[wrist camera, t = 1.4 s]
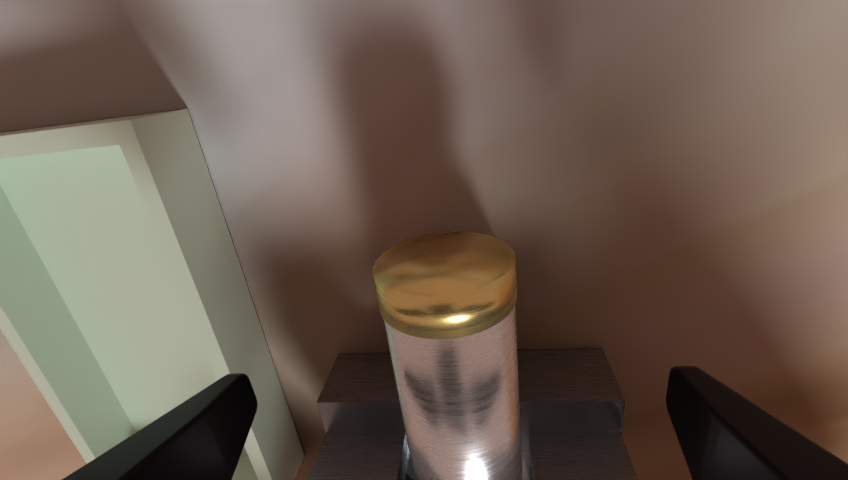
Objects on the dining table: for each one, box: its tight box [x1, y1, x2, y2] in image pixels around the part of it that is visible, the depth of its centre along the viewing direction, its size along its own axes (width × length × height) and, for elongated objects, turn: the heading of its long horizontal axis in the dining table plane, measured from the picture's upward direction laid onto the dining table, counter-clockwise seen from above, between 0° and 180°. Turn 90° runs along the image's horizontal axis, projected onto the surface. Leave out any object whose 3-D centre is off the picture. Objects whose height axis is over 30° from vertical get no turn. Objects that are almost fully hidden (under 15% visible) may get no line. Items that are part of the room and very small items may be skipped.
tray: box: [0, 109, 305, 480], centre depth 16 cm, size 16×8×2 cm, turn 7°
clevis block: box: [308, 348, 638, 480], centre depth 13 cm, size 10×10×7 cm
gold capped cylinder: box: [372, 231, 523, 480], centre depth 12 cm, size 12×3×3 cm, turn 7°
